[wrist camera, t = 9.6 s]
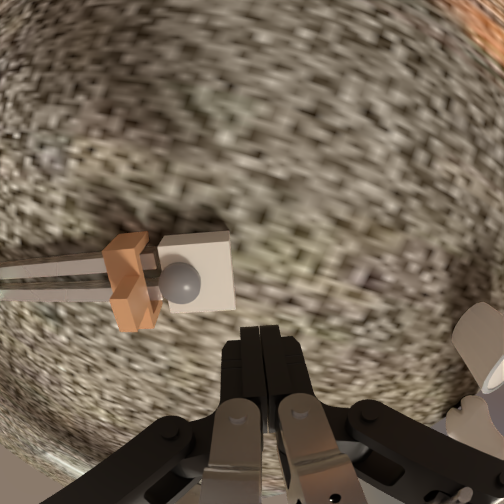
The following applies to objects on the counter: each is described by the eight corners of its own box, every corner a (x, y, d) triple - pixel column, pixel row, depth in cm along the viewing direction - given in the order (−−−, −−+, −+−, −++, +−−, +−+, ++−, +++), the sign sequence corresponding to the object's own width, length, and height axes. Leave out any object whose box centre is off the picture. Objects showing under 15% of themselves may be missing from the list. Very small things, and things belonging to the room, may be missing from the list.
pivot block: (229, 230, 17) (229, 245, 15) (235, 294, 19) (235, 315, 17) (160, 236, 17) (151, 251, 15) (172, 298, 19) (166, 319, 17)
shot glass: (436, 342, 23) (472, 390, 17) (479, 285, 21) (525, 326, 14) (462, 357, 25) (493, 398, 18) (499, 309, 23) (536, 345, 16)
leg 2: (163, 277, 18) (145, 322, 14) (167, 294, 19) (151, 342, 14) (-18, 283, 18) (-49, 311, 13) (-14, 295, 18) (-43, 324, 14)
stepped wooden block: (147, 231, 17) (119, 268, 12) (162, 303, 19) (145, 354, 14) (118, 234, 17) (83, 270, 12) (135, 304, 19) (112, 353, 14)
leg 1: (156, 241, 17) (133, 279, 13) (160, 260, 18) (139, 303, 13) (-26, 262, 17) (-59, 288, 12) (-21, 275, 17) (-53, 302, 13)
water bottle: (473, 383, 28) (549, 511, 5) (481, 395, 30) (546, 505, 7) (434, 417, 30) (496, 549, 7) (447, 425, 32) (501, 538, 9)
